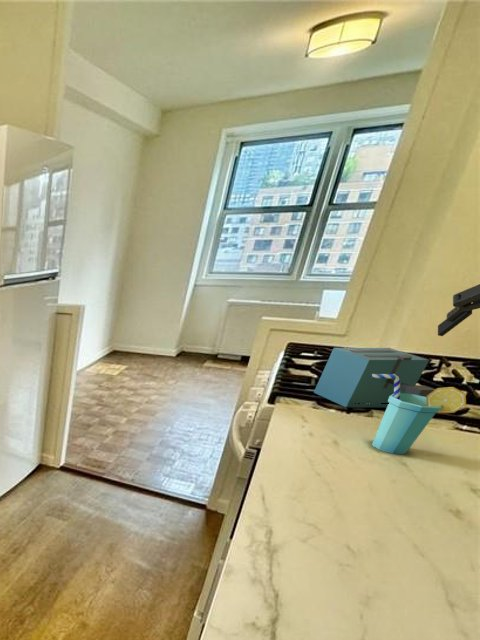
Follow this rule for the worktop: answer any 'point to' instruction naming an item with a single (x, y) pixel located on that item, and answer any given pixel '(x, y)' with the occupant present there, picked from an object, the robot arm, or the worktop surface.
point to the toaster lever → (414, 389)
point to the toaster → (366, 375)
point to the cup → (412, 415)
